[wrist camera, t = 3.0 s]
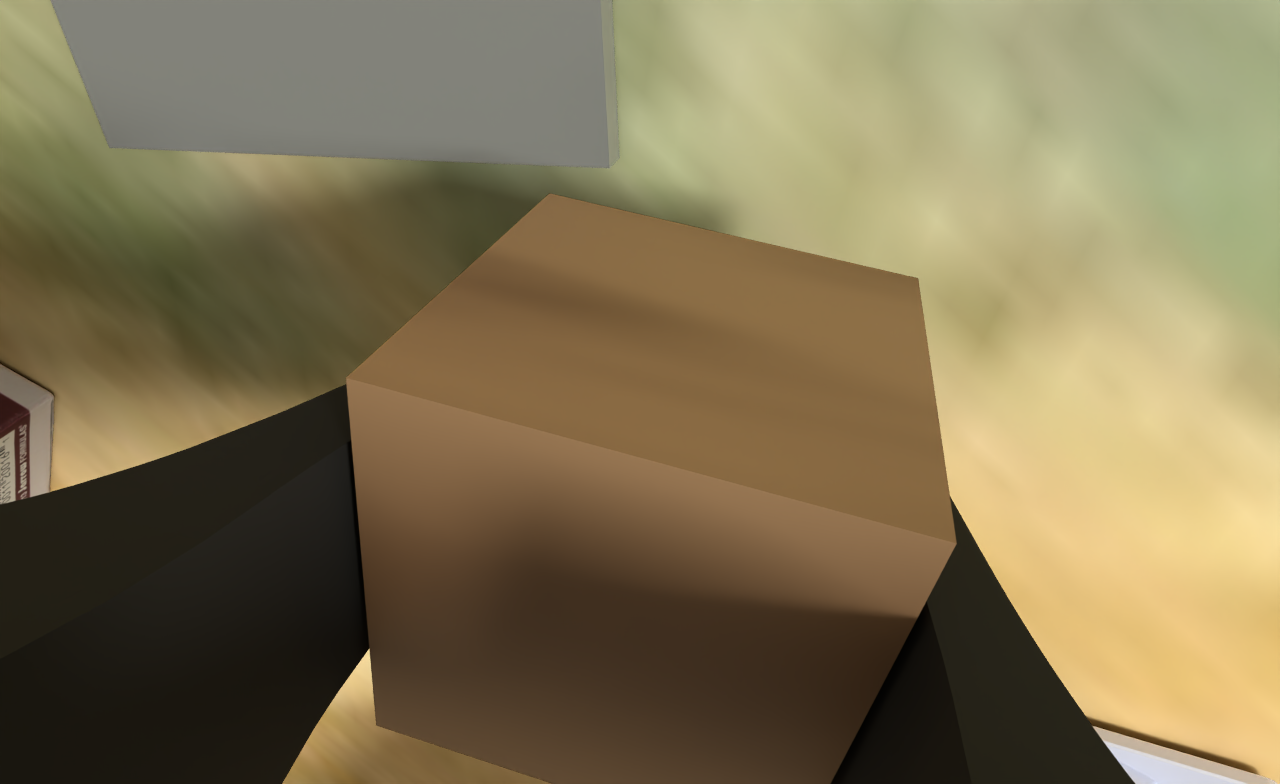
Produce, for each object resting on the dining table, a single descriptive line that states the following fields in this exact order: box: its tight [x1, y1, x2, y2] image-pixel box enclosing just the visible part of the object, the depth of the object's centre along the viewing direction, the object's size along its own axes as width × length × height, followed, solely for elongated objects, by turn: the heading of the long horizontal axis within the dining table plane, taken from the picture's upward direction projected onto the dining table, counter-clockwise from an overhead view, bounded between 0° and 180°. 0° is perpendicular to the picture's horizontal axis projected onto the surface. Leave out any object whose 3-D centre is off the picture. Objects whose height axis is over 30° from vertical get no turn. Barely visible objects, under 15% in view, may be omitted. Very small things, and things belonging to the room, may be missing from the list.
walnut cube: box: [346, 193, 957, 784], centre depth 9 cm, size 5×5×5 cm
